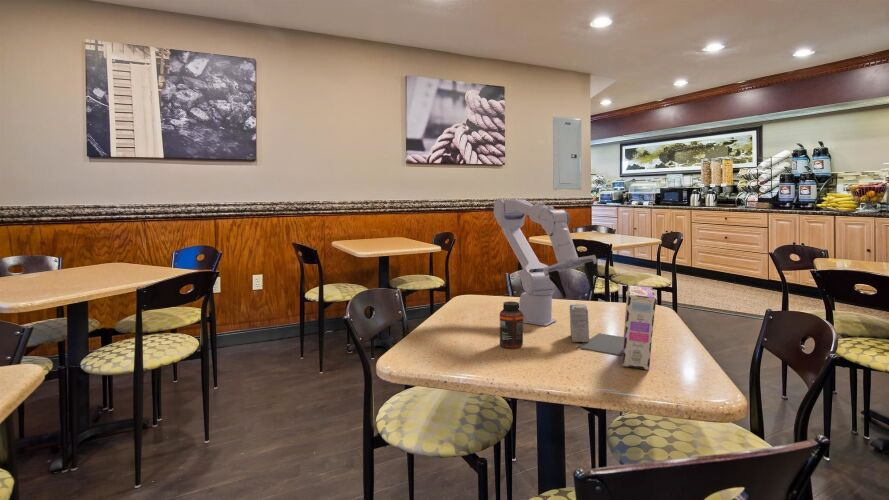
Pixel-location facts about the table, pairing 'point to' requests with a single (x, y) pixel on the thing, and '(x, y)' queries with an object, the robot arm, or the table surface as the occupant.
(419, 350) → the table surface
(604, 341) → the mat
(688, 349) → the table surface
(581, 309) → the medicine box
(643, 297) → the candy box
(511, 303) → the supplement bottle
